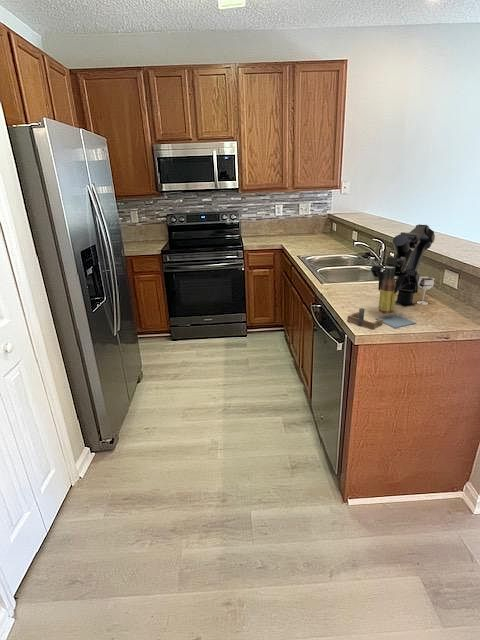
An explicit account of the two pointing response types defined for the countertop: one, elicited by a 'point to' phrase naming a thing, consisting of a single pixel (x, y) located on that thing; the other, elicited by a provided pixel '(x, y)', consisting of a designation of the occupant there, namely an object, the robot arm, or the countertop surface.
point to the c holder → (359, 320)
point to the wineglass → (425, 286)
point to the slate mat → (396, 321)
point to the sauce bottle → (388, 291)
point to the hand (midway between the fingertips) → (386, 291)
